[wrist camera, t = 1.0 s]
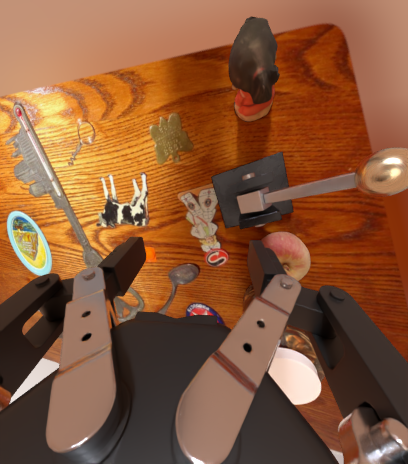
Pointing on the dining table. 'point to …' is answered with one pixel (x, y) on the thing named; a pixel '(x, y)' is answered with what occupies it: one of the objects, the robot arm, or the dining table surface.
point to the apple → (289, 253)
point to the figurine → (253, 69)
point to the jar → (294, 362)
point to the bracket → (248, 179)
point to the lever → (341, 182)
